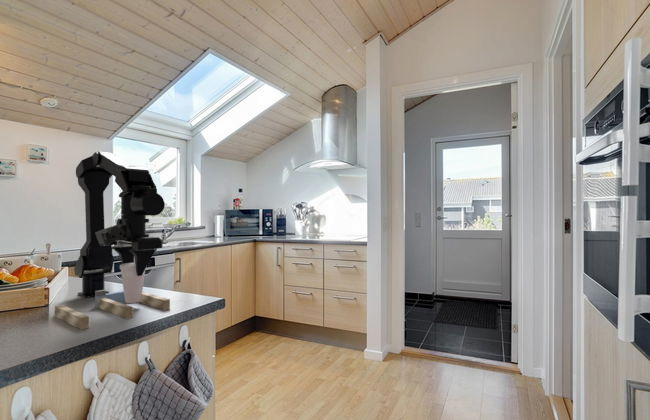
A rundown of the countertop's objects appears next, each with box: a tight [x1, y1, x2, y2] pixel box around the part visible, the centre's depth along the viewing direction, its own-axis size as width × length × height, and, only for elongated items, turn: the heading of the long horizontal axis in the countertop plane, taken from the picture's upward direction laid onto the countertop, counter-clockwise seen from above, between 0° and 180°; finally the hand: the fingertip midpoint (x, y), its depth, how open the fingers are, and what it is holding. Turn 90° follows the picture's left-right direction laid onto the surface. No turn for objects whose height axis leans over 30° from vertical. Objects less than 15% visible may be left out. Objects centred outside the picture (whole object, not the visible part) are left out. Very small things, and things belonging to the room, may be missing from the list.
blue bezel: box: [94, 289, 126, 309], centre depth 101 cm, size 2×11×4 cm, turn 143°
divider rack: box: [54, 291, 171, 330], centre depth 92 cm, size 16×20×2 cm
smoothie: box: [119, 249, 148, 304], centre depth 96 cm, size 6×6×14 cm
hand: (133, 274), depth 96 cm, fingers closed on smoothie, 6 cm apart
